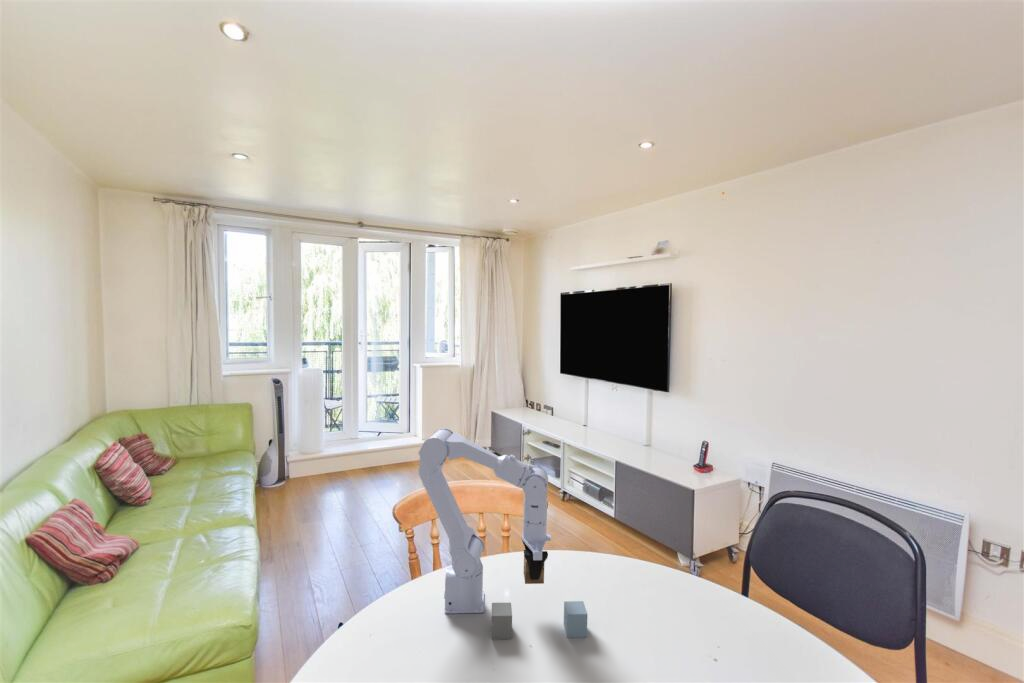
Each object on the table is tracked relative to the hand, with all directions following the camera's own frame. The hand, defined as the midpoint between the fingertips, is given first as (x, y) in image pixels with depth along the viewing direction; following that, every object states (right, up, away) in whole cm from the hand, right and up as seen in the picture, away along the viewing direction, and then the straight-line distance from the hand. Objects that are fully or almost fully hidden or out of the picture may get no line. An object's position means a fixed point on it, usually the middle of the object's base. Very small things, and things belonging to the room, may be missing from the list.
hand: (533, 572), depth 110 cm
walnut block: (0, -1, 0) cm, 1 cm away
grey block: (-8, -10, -7) cm, 15 cm away
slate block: (+9, -10, -6) cm, 15 cm away
